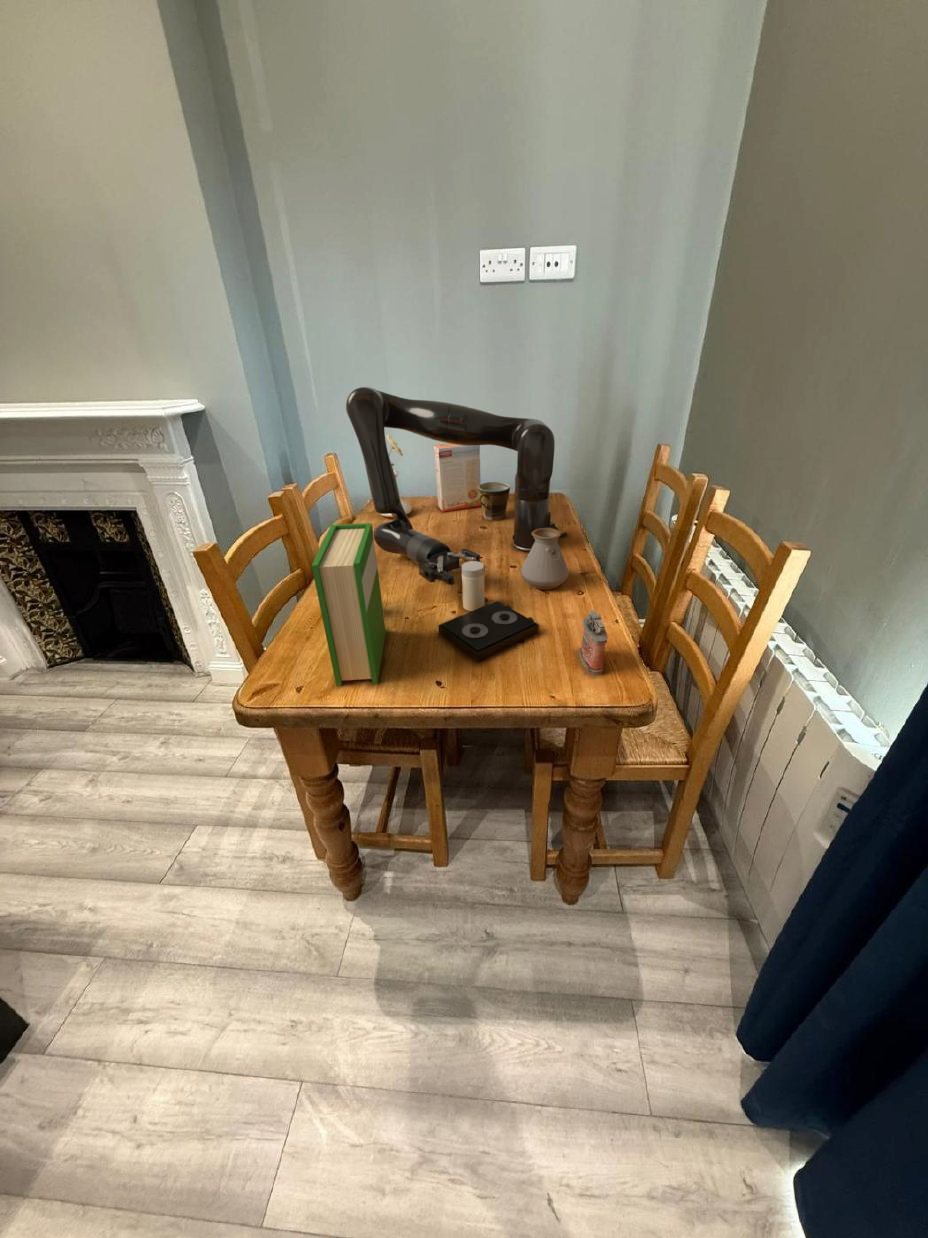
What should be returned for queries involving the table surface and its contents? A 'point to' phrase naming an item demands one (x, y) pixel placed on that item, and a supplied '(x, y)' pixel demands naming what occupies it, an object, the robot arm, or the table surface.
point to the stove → (488, 630)
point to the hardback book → (351, 601)
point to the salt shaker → (473, 585)
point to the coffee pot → (545, 561)
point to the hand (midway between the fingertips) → (468, 575)
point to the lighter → (593, 643)
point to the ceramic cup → (494, 499)
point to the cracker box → (457, 476)
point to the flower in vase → (405, 505)
